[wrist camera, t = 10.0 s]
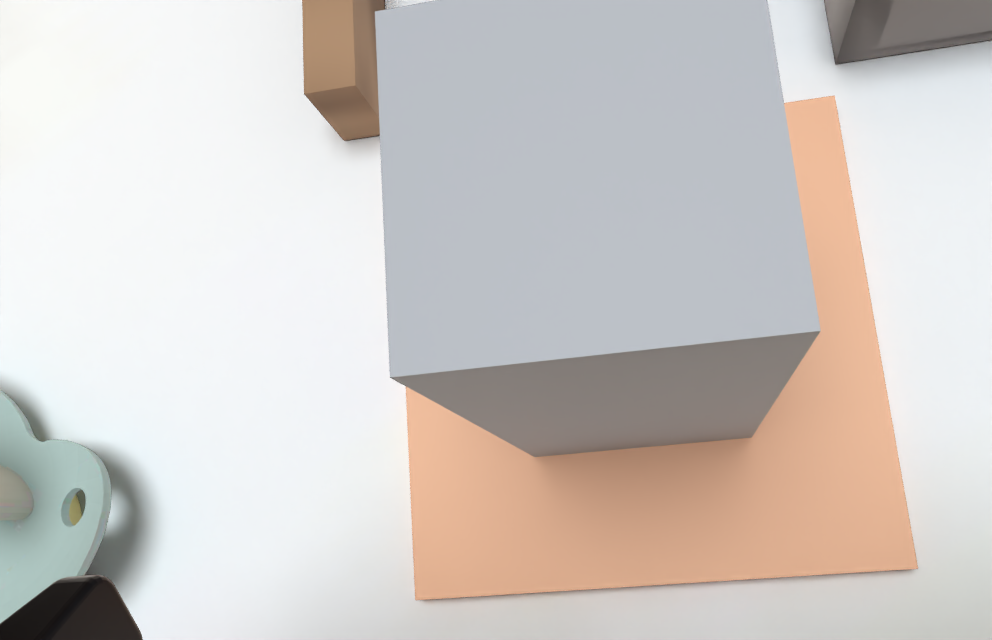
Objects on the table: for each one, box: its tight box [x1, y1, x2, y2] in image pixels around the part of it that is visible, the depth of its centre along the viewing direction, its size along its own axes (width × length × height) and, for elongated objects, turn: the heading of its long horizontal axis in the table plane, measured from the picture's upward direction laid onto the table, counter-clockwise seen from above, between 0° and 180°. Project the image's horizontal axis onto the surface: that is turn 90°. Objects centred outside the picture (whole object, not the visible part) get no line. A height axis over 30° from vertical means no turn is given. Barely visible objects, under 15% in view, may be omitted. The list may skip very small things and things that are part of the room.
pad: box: [406, 96, 918, 600], centre depth 20 cm, size 10×10×1 cm
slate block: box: [375, 0, 821, 457], centre depth 15 cm, size 4×4×10 cm
